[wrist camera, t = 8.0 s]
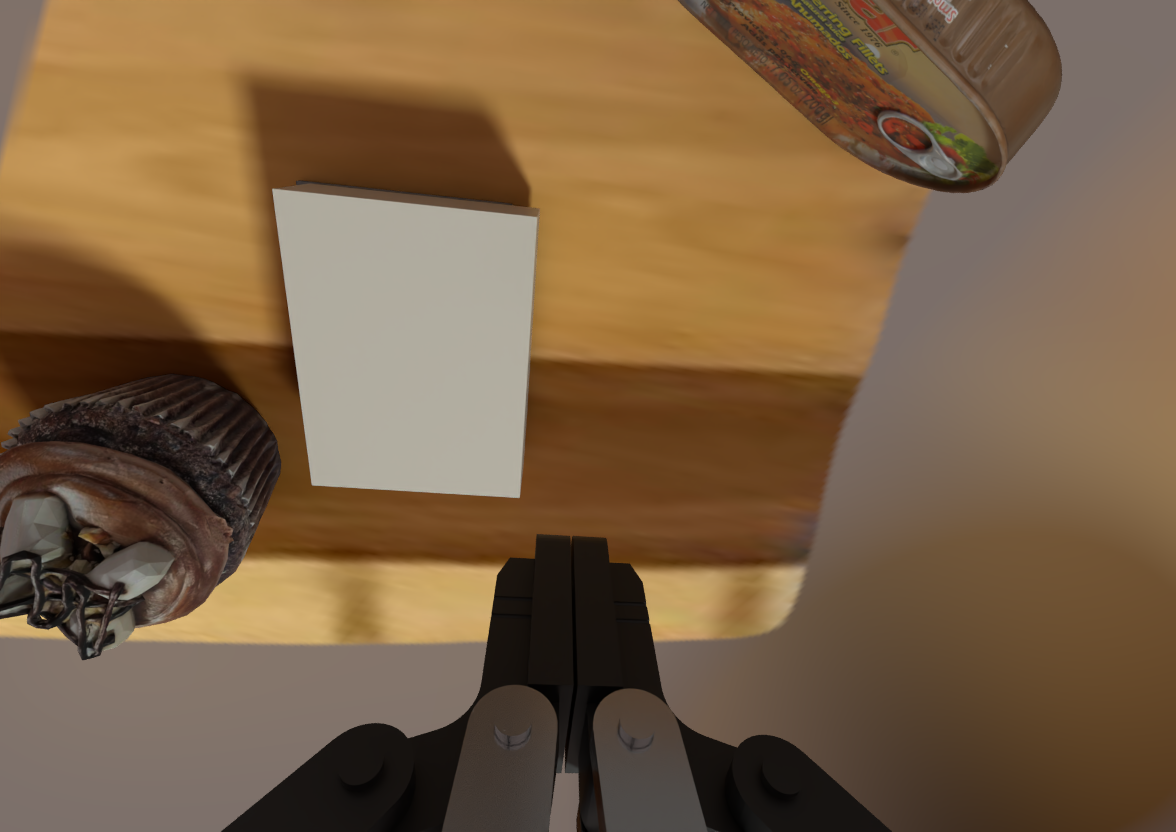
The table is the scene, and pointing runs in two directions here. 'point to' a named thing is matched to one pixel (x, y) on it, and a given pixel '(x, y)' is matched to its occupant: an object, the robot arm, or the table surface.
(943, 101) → the tin
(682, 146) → the table surface
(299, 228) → the tile
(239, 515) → the cupcake
